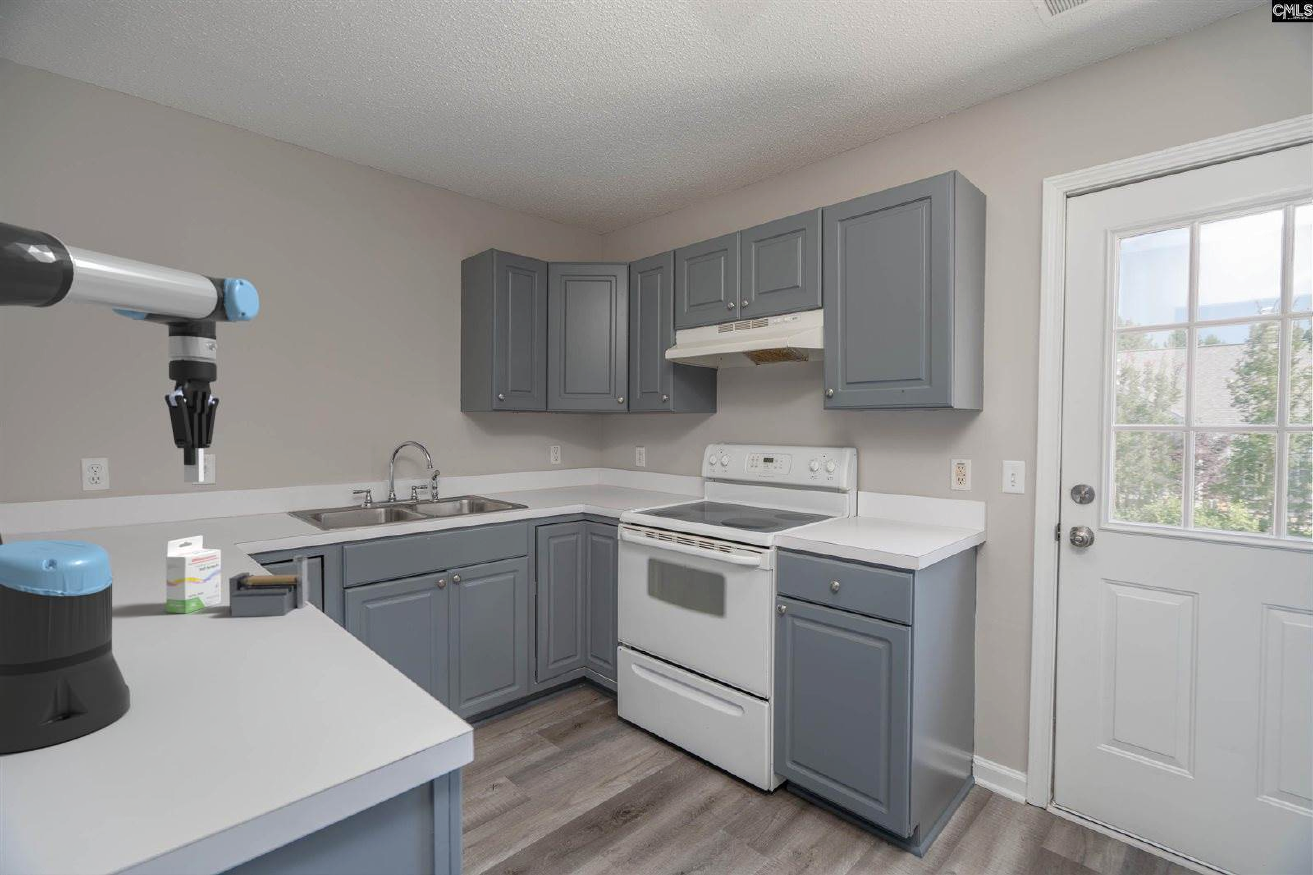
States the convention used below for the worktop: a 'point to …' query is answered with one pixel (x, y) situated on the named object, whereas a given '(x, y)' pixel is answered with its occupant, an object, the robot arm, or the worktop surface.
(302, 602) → the heatsink
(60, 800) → the worktop surface
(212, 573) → the ink box
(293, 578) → the strap
